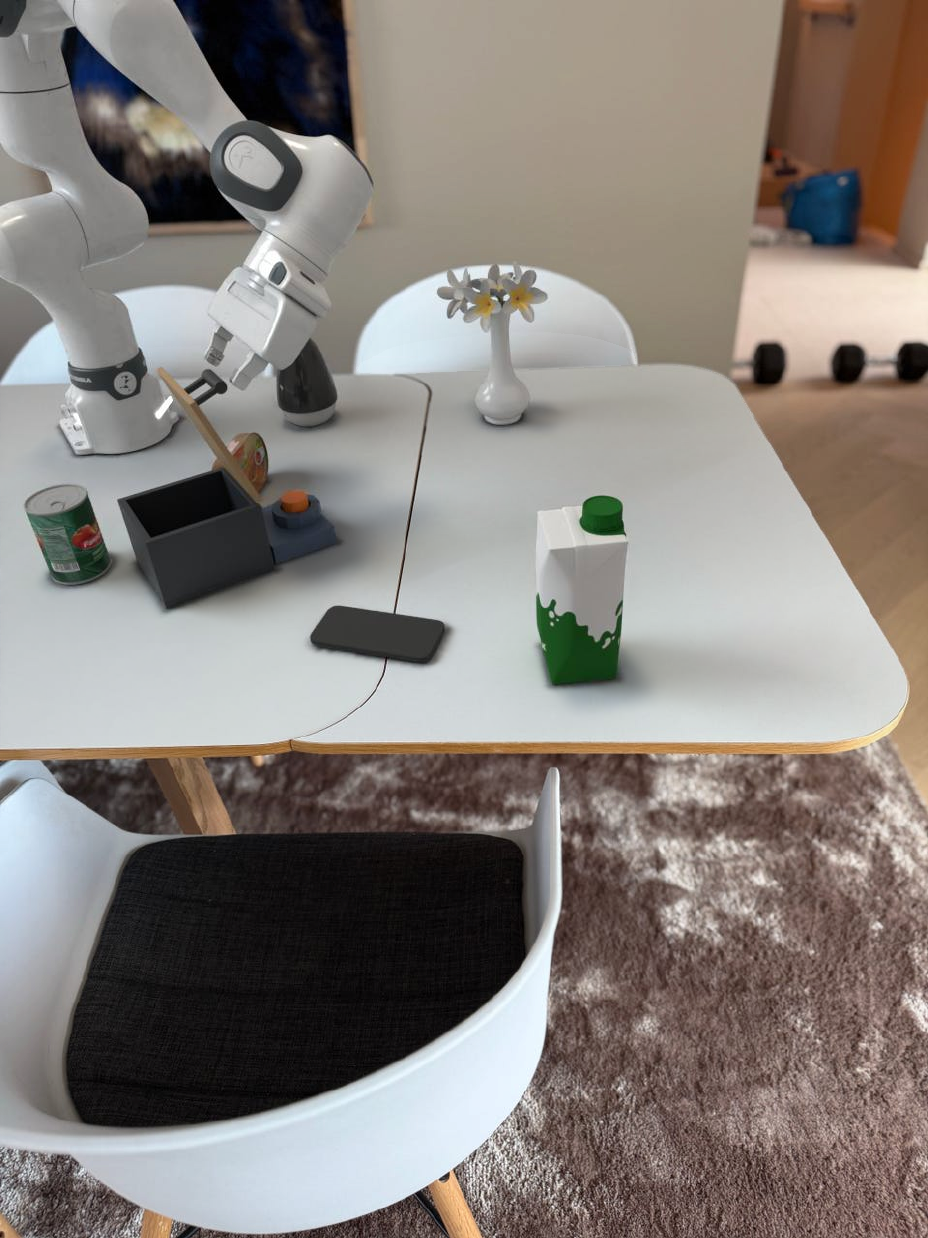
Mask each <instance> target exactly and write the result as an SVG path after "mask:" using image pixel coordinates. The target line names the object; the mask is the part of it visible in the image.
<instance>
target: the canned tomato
mask: <svg viewBox="0 0 928 1238" xmlns="http://www.w3.org/2000/svg"><path fill="white" fill-rule="evenodd" d="M88 493H89V492H88V491H87V489H86V487H85V486H83V485H80V484H76V483H62V484H54V485H51V486H47V487H45V488H42V489H40V490H37V491H36V492H34V493H32V494H31V495H30V496H28V497H27V498H26V499H25V500H24V503H23V509H24V512H25V513H26V515H27V518H28V521H29V523H30V526H31V528H32V531H33V533H34V536H35V538H36V541H37V543H38V547H39V549H40V551H41V553H42V556H43V558H44V561H45V563H46V566H47V568H48V571H49V572H50V577H51V579H52V581H54V583H57V584H59V585H64V586H75V585H82V584H86V583H89V582H91V581H94V580H96V579H98V578H100V577H102V576H103V575H104V574H106V573H107V572H108V570H109V569H110V567H112V559H111V556H110V553H109V551H108V548H107V545H106V543H105V539H104V537H103V533H102V531H101V528H100V525H99V522H98V520H97V519H98V518H97V517H96V513H95V511H94V507H93V506H92V502H91V500H90V497H89V494H88Z"/></svg>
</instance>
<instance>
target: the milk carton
mask: <svg viewBox="0 0 928 1238" xmlns="http://www.w3.org/2000/svg"><path fill="white" fill-rule="evenodd" d="M623 511H624V504H623V503H622V501H621V500H620V499H619V498H617V497H615V496H611V495H604V494H603V495H601V494H600V495H594V496H590V497H588V498H586V499H585V500H584V501H583V503H582V505H577V506H576V505H575V506H572V505H570V506H569V505H568V506H562V507H561V508H556V509H555V508H554V509H546V510H538V511H537V523H536V525H537V527H536V544H535V545H536V546H535V597H536V598H535V601H536V602H535V609H536V610H535V611H536V613H535V614H536V615H535V616H536V627H537V632H538V636H539V640H540V642H541V648H542V651H543V656H544V659H545V662H546V663H545V664H546V667H547V671H548V675H549V678H550V682H551V685H552V686H555V685H563V684H564V685H565V684H574V683H575V684H576V683H584V682H592V681H593V682H595V681H604V680H613V679H617V676H618V675H617V673H618V666H619V665H618V664H619V658H620V657H619V655H620V649H621V639H622V626H623V612H624V611H623V609H624V595H625V594H624V592H625V577H626V576H625V575H626V563H627V555H628V547H629V540H628V538H627V533H626V532H625V523H624V520H623Z"/></svg>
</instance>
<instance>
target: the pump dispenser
mask: <svg viewBox="0 0 928 1238" xmlns="http://www.w3.org/2000/svg"><path fill="white" fill-rule="evenodd" d="M275 379H276V380H275V387H276V388H275V389H276V391H275V392H276V401H277V406H278V408H279V409H280V410H281V412H282V414H283V416H285V418H286V419H287V420H288V421H289V422H291V423H292V424H293V425H296V426H298V427H299V426H300V427H315V426H319V425H321V424H323V423H325V422H327V421H328V420H329V419H330V418H331V417H332V416H333V415H334V412H335V410H336V406H337V401H338V397H339V396H338V390H337V386H336V383H335V380H334V377H333V375H332V371H331V369H330V367H329V364H328V363H327V360H326V358H325V356H324V354H323V352H322V350H321V349H320V347H319V346H318V344H317V343H316V342H315V341H314V339H313V338H312V337H310V338H309V340H308V341H307V343H306V344H305V346H304V347H303V349H302V350H301V352H300V353H299V355H298V356H297V358H296V359H295V360H294V362H293V363H292V364H291V365H289V366H288V367H287V368H285V369H283V370H280V369H278V368H277V367H276V378H275Z"/></svg>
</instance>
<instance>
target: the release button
mask: <svg viewBox="0 0 928 1238" xmlns="http://www.w3.org/2000/svg"><path fill="white" fill-rule="evenodd" d="M307 494H308V493H307V492H306V491H304V490H300V489H294V490H289V491H286V492H284V493H283V494H282V495H281V496H280V498H281V503H282V508H283V511H284V512H286V513H299V512H302V511H304V510H306V509H307V508H309V503H308V498H307Z"/></svg>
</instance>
